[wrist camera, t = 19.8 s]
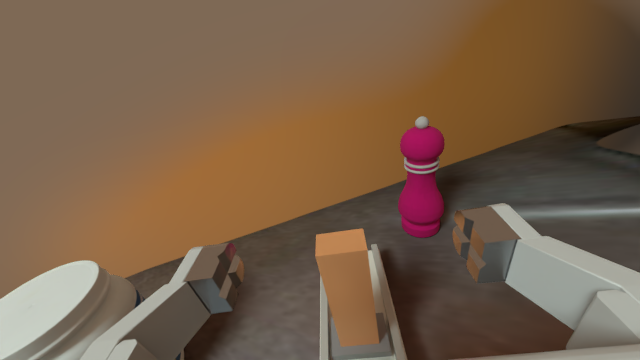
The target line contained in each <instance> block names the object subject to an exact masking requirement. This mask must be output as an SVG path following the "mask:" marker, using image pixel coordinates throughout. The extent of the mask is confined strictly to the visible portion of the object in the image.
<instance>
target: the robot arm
mask: <svg viewBox="0 0 640 360" xmlns="http://www.w3.org/2000/svg"><path fill="white" fill-rule="evenodd" d="M454 220H455V222H456V223H457V226H456V227H455V228H454V229H453V241H454V245H455V248H456V250H457V252H458V253H459V255H460V256H461V257H463V258H464V259H466V260H467V266H466V267H467V268H468V270H469V272H470V273H471V275H472V276H473V278H474V280H475V281H476V283H477V284H478V283H490V282H501V281H506V282H505V283H507V284H508V285H510V286H511V287H512V288H514V289H515V290H517V291H518V292H520V293H521V294H523V295H524V296H525V297H527V298H528V299H530V300H531V301H533V302H534V303H535V304H537V305H538V306H540V307H541V308H543V309H544V310H546V311H547V312H548V313H550V314H551V315H553V316H554V317H556V318H557V319H558V320H560V321H561V322H563V323H564V324H566V325H567V326H568V327H570V328H571V329H573V330H574V332H573V334H572V336H571V337H570V339H569V341H568V342H567V345H566V349H567V350H561V351H549V352H536V353H524V354H512V355H500V356H487V357H475V358H462V359H450V360H640V273H639V272H636V271H634V270H631V269H628V268H626V267H623V266H621V265H618V264H616V263H613V262H611V261H608V260H606V259H603V258H601V257H598V256H596V255H593V254H591V253H588V252H586V251H583V250H581V249H578V248H576V247H573V246H571V245H568V244H566V243H563V242H561V241H558V240H556V239H553V238H551V237H548V236H544V237H542V236H541V235H540V234H539V233H537V232H536V231H535V230H534V229H533V228H532V227H531V226H530V225H529V224H528V223H527V222H526V221H525V220H524V219H522V218H521V217H520V216H519V215H518V214H517V213H516V212H515V211H514V210H513V209H512V208H511V207H510V206H509V205H507V204H504V203H502V204H496V205H489V206H484V207H478V208H471V209H464V210H457V211H456V213H455V216H454ZM235 252H236V248H235V247H234V245H233V244H232V243H225V244H217V245H208V246H202V247H194V248H192V249H191V250H189V252H188V253H187V255H186V257H185V258H184V260H183V262H182V263H181V265H180V266H179V268H178V270H177V271H176V273H175V275H174V276H173V278H172V280H171V281H170V283H169V284H167V285H164V286H163V287H161V288H160V289H159V290H157V291H156V292H155V293H154V294H152V295H151V296H150V297H149V298H147V299H146V300H145V301H144V302H142V303H141V304H140V305H139V306H137V307H136V308H135V309H134V310H132V311H131V312H130V313H129V314H127V315H126V316H125V317H124V318H122V319H121V320H120V321H119V322H117V323H116V324H115V325H114V326H112V327H111V328H110V329H109V330H107V331H106V332H105V333H103V334H102V335H101V336H100V337H98V338H97V339H96V340H95V341H93V342H92V344H91V345H90V346H89V348H88V349H87V350H86V352H85V353H84V354H83V356H82V357H81V359H80V360H174V359H175V358H176V357H177V356H178V355H179V353H180V352H181V351H182V350H183V349H184V347H185V346H186V345H187V344H188V342H189V341H190V340H191V339H192V338H193V336H194V335H195V334H196V333H197V331H198V330H199V329H200V328H201V327H202V325H203V324H204V323H205V322H206V321H207V319H208V318H209V317H210V316H211V315H210V314H214V313H221V312H228V311H233V309H234V306H235V303H236V300H237V297H238V292H237V290H236V288H237V287H238V286H239V285H240V284H241V283H242V281H243V277H244V265H243V262H242V260H241V258H240V257H238V256H236V255H235Z"/></svg>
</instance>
